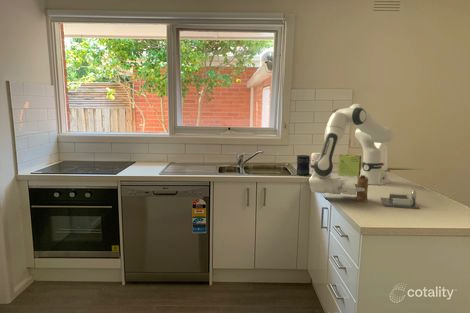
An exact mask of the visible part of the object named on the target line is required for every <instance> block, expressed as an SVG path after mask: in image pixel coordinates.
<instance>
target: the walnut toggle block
mask: <svg viewBox="0 0 470 313" xmlns="http://www.w3.org/2000/svg"><path fill="white" fill-rule="evenodd" d="M356 184H357V187H358V188H361V187H363V188H365V191H359V192H356V201H357V202H361V203H367V202H368V191H369V190H368V188H369V184H368V178H367V177H365V175H361V177H360V176H359V177H357V183H356Z"/></svg>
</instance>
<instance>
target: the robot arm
mask: <svg viewBox="0 0 470 313" xmlns="http://www.w3.org/2000/svg"><path fill="white" fill-rule="evenodd" d="M349 126H350V127H351V126H355V127H356V129H355V131H354V137H355V139H356V140H357V141H358V142H359V143H360V145H361V148H362V152H363V153H362V156H363V158H362V161H361V173H360V176H359V177H361V175H365V177H367V178H368V185H378V186H379V185H380V186H384V185H386V184H388V183H390V182H391V181H392V180H391V179H390V178H389V179H388V173H387V172H386V170H385V171H384V170H383V169H382V166H384V163H380V162H381V151H380V150H379V149H378V148H376V146H375V144H374V142H375V143H384V144H385V143H390V142H391V141H392V139H393V138H394V131H393V130H392V128H391V127H387V126H385V125H383V124H382V123H380V122H378V121H377V120H376V119H374V118H373V117H372V115H371V114H370V113H369V111H368V110H367V109H366V108H365V107H364V106H363V105H362V104H360V103H353V104H352V105H350V106H349V107H346V108H340V109H339V108H337V109H333V111H331V113H330V116H329V119H328V121H327V124H326V127H325V129H324V134H323V135H324V136H323V139H324V143H323V147H322V150H321V152H320V153H321V155H320V157H319V158H318V159H317V160H316V162H315V163H314V172H313V173H312V174H311V176H310V177H309V178H308V180H307V182H308V188H309V191H310V192H312V193H316V194H317V193H318V194H330V195H341V194H343V195H350V196H352V195H353V196H355V195H356V196H357V192H359V191H365V188H363V187H361V188H358V187H357V183H355V180H351V179H343V178H341V177H337V178H333V177H332V174H333V169H334V168H333V167H334V166H333V155H334V152H335V149H336V146H337V145H339V144H340V143H341V142H342V141H343V138H344V136H345V132H346V127H349Z"/></svg>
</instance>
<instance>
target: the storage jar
mask: <svg viewBox="0 0 470 313" xmlns="http://www.w3.org/2000/svg"><path fill="white" fill-rule="evenodd" d="M310 158H311V155H305V154H302V155H301V154H299V155H297V156H296V176H298V175H299V176H298V177H309V176H310V171H311V167H310V164H311V159H310ZM308 175H309V176H308Z"/></svg>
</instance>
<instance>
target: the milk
mask: <svg viewBox="0 0 470 313" xmlns="http://www.w3.org/2000/svg"><path fill="white" fill-rule="evenodd" d="M374 144H375V146H376V148H378V149H379V150H380V151H381V162H380V163H384V166H382V169H383V170H384V171H385V172H386V171H388V147H387V145H385V143H375V142H374Z"/></svg>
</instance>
